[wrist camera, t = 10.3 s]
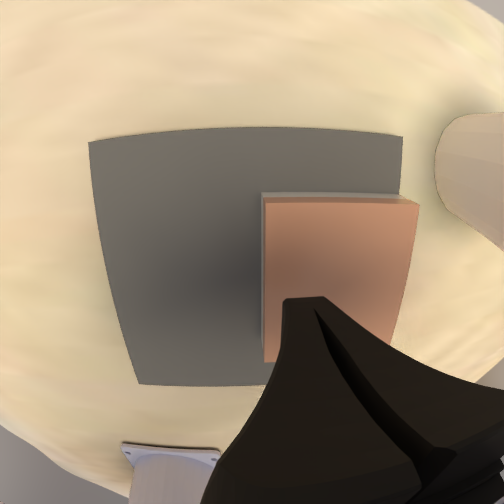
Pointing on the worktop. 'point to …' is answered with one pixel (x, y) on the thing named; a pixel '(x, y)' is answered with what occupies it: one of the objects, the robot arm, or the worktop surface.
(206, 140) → the plate
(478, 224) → the white short cylinder
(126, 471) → the worktop surface
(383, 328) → the tile
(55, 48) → the worktop surface
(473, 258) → the worktop surface
